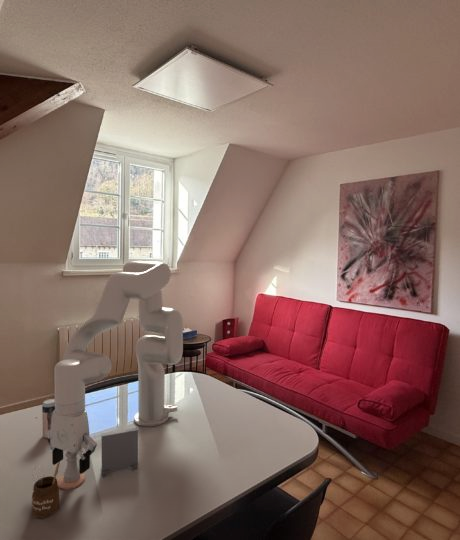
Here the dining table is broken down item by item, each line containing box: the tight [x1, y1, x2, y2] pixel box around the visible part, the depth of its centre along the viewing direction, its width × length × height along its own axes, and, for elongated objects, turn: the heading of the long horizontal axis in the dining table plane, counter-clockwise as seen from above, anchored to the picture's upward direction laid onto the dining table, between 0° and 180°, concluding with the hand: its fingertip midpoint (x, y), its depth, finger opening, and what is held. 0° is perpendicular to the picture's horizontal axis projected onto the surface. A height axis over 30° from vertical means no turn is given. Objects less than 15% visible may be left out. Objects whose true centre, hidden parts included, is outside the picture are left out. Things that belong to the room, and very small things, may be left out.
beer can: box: [41, 398, 55, 439], centre depth 123 cm, size 5×5×12 cm
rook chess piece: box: [62, 451, 81, 483], centre depth 100 cm, size 4×4×8 cm
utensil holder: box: [31, 461, 61, 519], centre depth 89 cm, size 6×6×12 cm
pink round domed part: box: [57, 472, 86, 490], centre depth 100 cm, size 7×7×1 cm
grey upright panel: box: [100, 427, 139, 478], centre depth 106 cm, size 10×5×11 cm, turn 112°
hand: (71, 466), depth 100 cm, fingers open, 9 cm apart
